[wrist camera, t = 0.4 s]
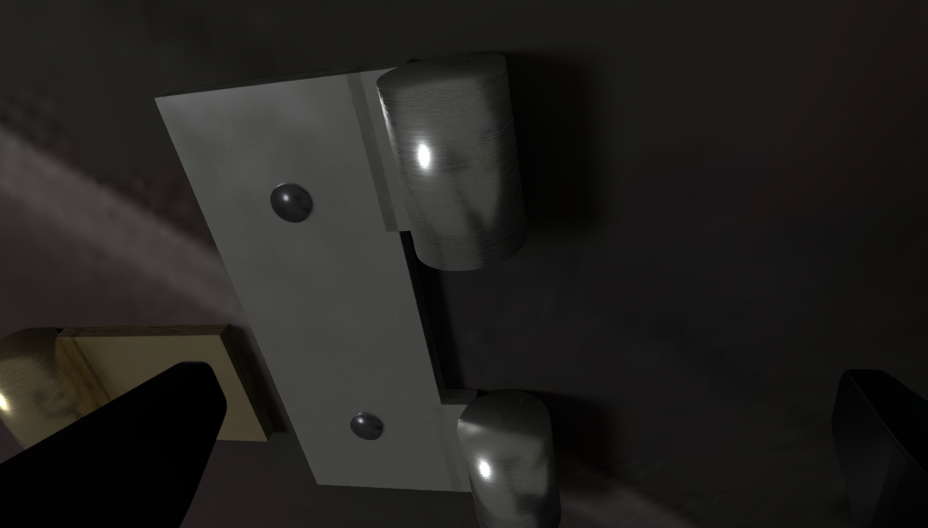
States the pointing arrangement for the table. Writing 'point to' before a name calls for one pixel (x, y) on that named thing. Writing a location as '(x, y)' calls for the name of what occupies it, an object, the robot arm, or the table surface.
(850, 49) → the table surface
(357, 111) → the steel hinge leaf
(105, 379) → the brass hinge leaf
